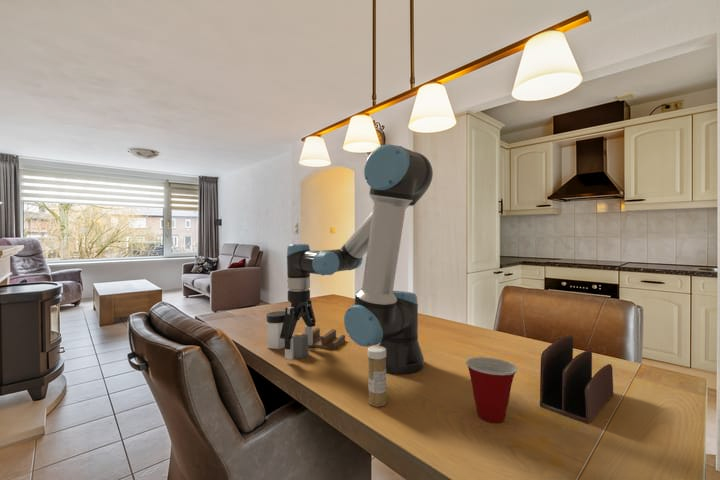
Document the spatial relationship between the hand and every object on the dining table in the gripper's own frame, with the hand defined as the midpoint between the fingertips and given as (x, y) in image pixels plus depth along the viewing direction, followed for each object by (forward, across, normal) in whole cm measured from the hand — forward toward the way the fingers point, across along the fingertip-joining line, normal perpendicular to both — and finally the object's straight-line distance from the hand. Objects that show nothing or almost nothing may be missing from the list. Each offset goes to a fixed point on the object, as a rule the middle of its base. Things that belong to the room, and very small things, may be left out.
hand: (299, 351), depth 115 cm
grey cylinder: (+1, 0, 0) cm, 1 cm away
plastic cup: (+1, +21, +60) cm, 64 cm away
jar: (+2, -7, -13) cm, 15 cm away
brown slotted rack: (+1, -14, +1) cm, 14 cm away
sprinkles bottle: (+1, +23, +34) cm, 41 cm away
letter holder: (+1, +8, +80) cm, 81 cm away
